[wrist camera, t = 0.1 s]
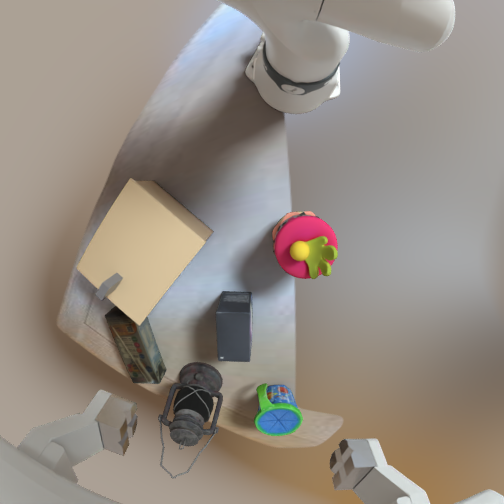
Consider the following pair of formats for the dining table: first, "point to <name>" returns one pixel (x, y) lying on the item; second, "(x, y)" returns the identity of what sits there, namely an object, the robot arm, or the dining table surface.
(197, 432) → the lantern
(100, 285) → the lid flap
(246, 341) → the small box
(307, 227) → the cake
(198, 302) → the dining table surface
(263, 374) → the dining table surface
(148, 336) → the beverage carton
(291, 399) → the snack cup
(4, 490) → the robot arm
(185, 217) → the cardboard box
